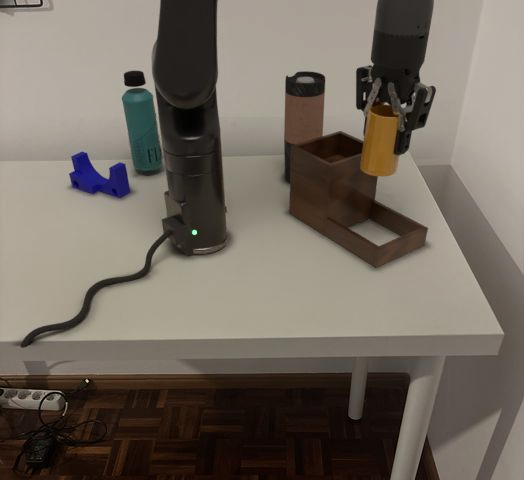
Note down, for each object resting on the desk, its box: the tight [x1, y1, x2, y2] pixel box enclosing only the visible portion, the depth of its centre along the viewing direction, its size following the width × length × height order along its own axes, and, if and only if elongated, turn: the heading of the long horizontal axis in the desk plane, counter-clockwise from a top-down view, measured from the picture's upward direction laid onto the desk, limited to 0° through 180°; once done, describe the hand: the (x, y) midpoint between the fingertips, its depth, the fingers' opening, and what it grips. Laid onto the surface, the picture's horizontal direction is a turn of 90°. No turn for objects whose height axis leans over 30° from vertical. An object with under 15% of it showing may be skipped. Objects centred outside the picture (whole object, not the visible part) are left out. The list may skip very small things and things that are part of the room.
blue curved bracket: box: [68, 151, 131, 199], centre depth 113 cm, size 12×4×6 cm, turn 58°
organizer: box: [289, 130, 429, 269], centre depth 98 cm, size 12×23×13 cm, turn 36°
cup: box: [360, 103, 407, 177], centre depth 87 cm, size 6×6×9 cm
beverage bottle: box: [121, 70, 164, 172], centre depth 115 cm, size 6×7×20 cm
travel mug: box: [283, 70, 326, 185], centre depth 111 cm, size 8×8×20 cm
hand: (384, 146), depth 88 cm, fingers closed on cup, 6 cm apart
